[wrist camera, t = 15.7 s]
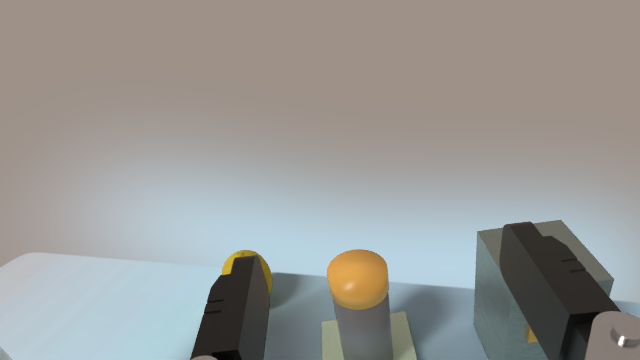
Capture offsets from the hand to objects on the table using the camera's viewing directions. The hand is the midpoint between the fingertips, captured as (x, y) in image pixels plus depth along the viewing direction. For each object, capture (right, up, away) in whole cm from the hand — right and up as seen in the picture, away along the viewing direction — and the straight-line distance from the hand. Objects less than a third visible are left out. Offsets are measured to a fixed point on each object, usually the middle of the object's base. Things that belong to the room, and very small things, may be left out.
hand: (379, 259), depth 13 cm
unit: (+17, -13, +24) cm, 32 cm away
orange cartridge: (+3, -14, +25) cm, 29 cm away
